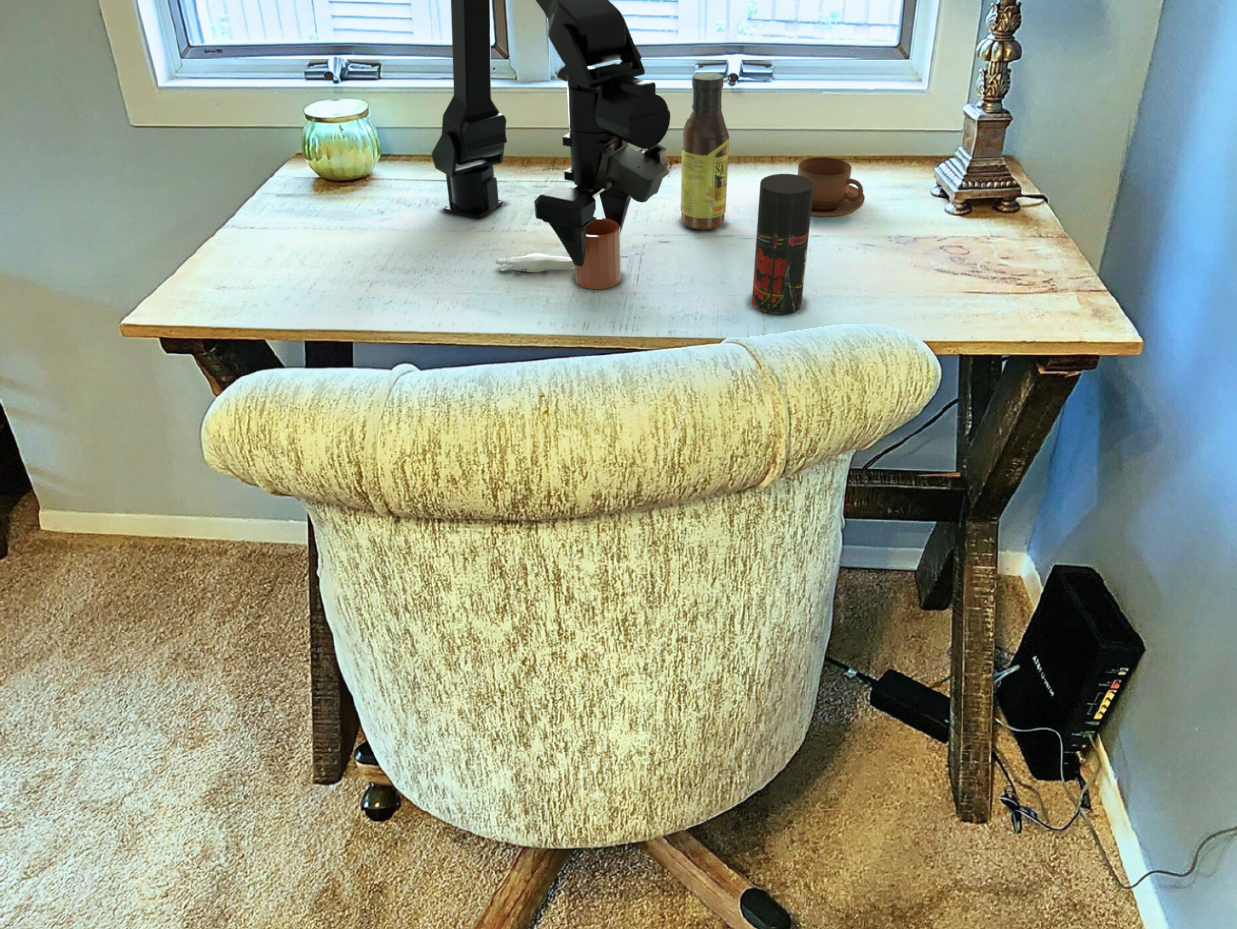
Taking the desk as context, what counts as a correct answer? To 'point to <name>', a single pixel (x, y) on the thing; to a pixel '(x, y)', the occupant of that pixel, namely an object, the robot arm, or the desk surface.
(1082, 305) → the desk surface
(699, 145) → the sauce bottle
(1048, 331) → the desk surface
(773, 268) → the deodorant
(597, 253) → the cup
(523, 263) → the white elongated piece
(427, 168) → the desk surface
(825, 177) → the cup and saucer
